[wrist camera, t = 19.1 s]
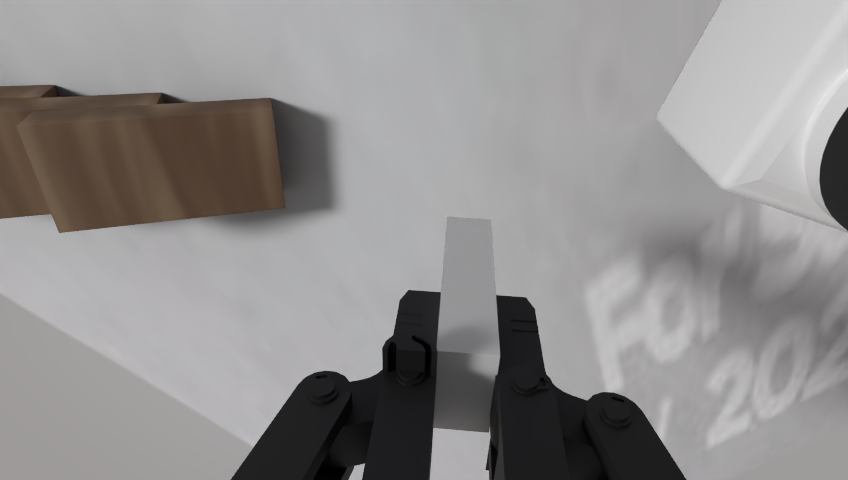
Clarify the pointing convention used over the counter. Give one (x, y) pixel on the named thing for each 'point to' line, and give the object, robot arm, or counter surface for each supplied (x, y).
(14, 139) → the domino
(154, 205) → the domino
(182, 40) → the counter surface
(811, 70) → the container
